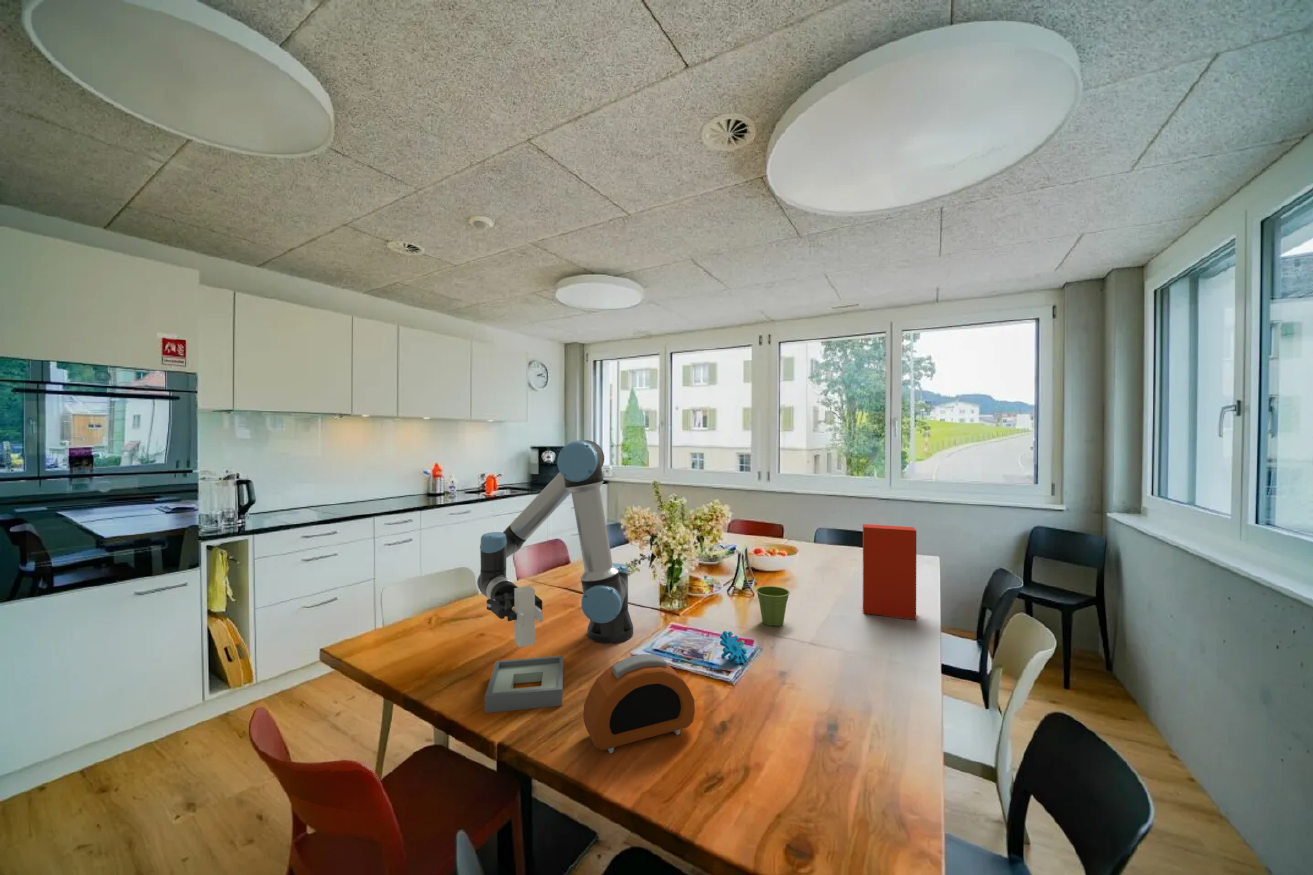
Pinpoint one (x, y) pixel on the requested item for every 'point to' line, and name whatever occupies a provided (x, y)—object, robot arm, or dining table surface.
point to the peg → (525, 615)
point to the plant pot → (772, 604)
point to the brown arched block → (637, 702)
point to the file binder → (889, 571)
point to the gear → (733, 647)
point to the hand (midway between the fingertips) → (532, 618)
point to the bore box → (523, 671)
